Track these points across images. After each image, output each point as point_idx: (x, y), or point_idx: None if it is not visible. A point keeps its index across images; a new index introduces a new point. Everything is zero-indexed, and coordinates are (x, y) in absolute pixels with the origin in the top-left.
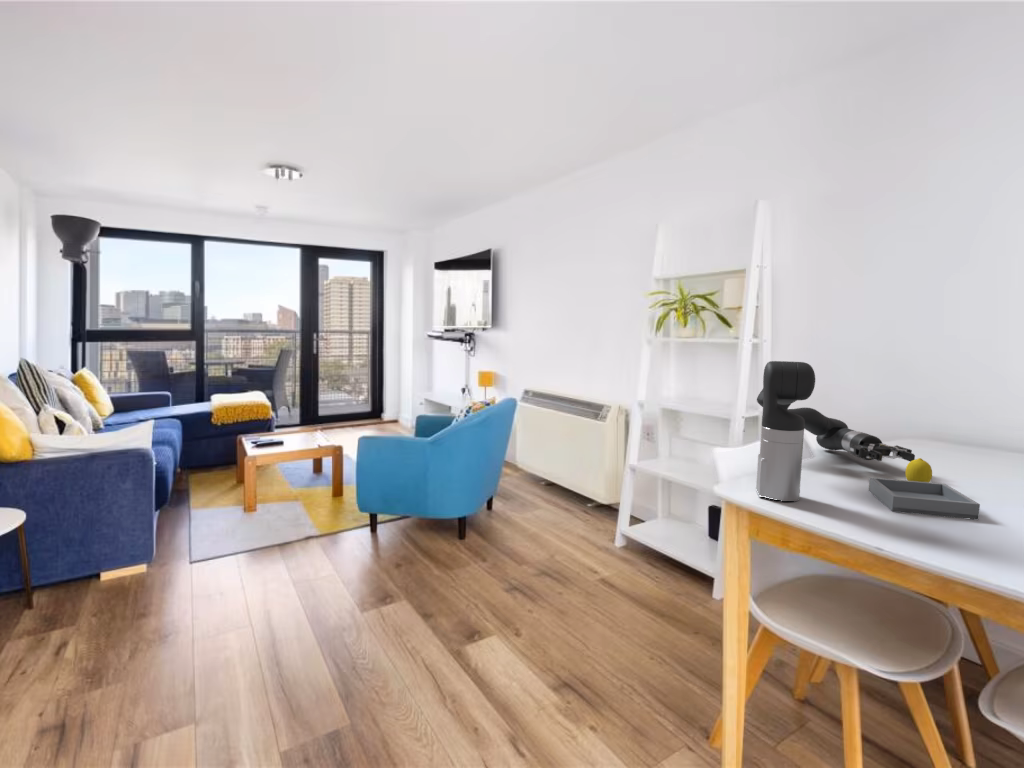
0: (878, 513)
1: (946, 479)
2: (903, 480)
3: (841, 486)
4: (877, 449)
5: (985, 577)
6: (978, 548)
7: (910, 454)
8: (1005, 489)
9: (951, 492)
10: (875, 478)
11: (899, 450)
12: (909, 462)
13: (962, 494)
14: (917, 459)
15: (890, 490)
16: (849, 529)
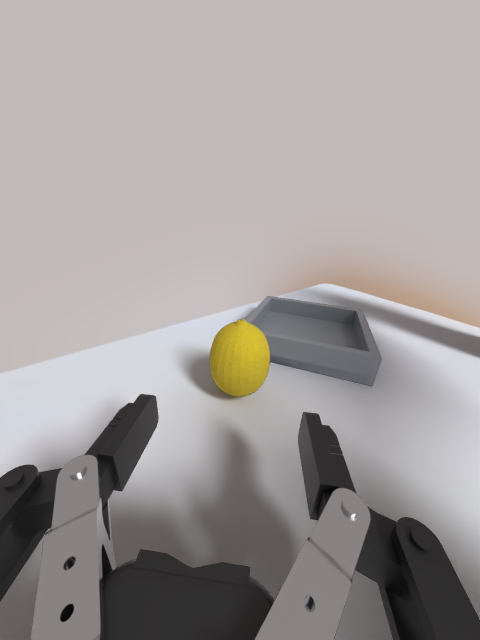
0: (376, 327)
1: (11, 468)
2: (309, 342)
3: (441, 415)
4: (248, 568)
5: (335, 285)
6: (314, 295)
7: (151, 402)
8: (16, 377)
9: (257, 318)
10: (368, 353)
11: (99, 489)
12: (260, 344)
13: (257, 307)
14: (247, 325)
15: (359, 319)
16: (413, 312)
